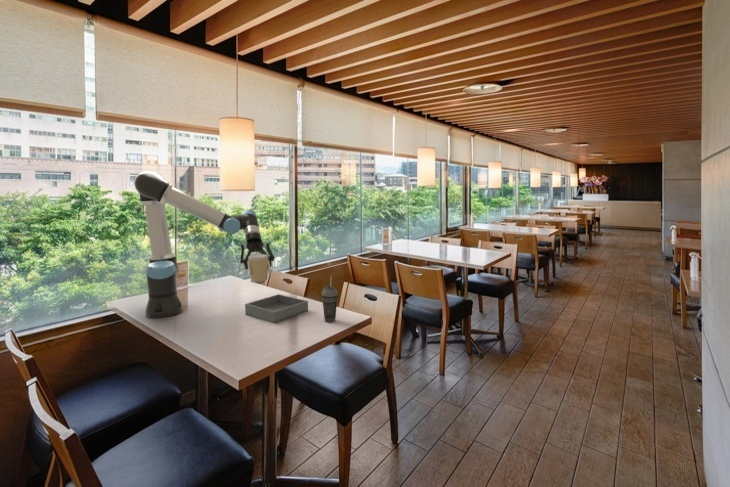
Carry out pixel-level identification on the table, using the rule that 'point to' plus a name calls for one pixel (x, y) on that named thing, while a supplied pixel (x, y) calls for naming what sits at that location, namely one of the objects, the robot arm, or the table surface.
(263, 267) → the coffee cup
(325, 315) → the beverage cup
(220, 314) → the table surface
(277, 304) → the grey bin
